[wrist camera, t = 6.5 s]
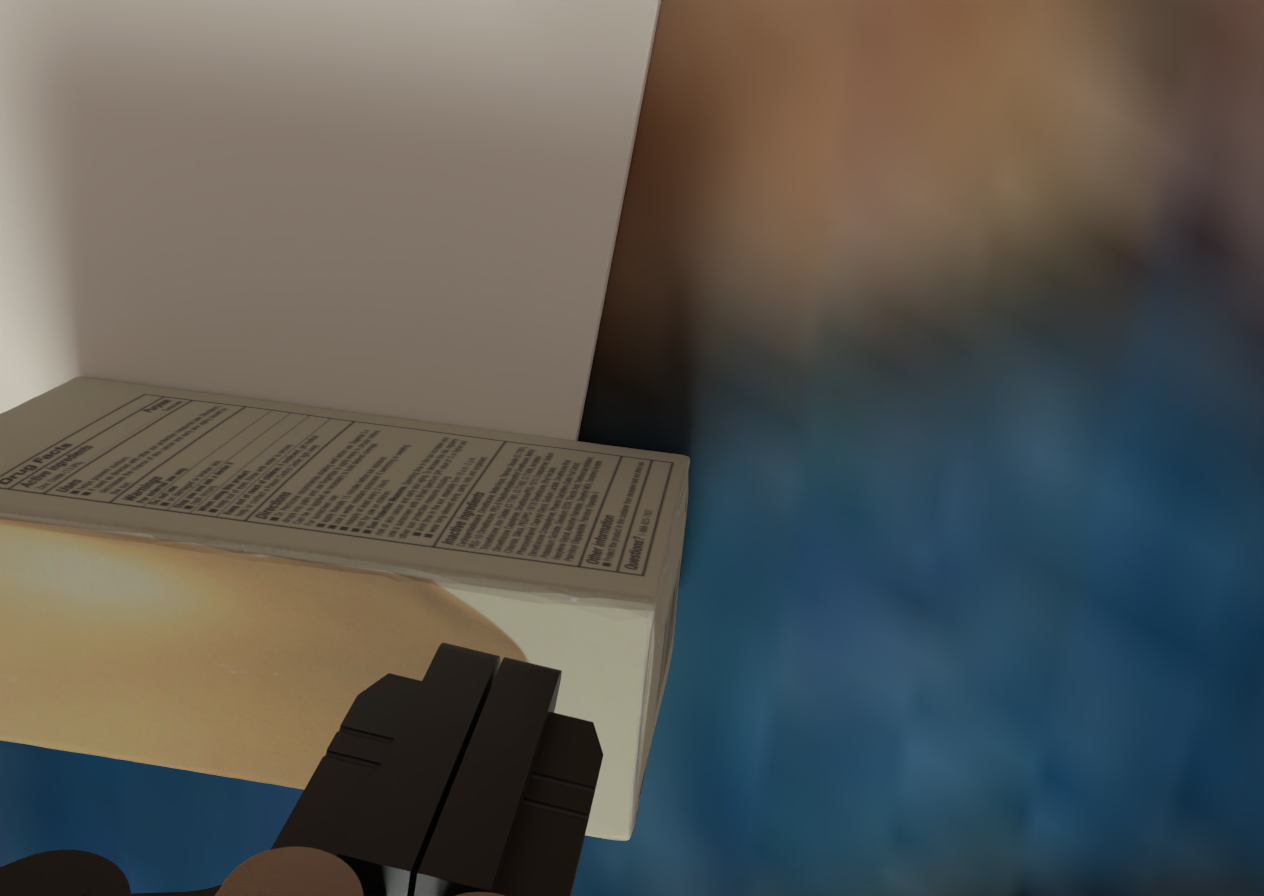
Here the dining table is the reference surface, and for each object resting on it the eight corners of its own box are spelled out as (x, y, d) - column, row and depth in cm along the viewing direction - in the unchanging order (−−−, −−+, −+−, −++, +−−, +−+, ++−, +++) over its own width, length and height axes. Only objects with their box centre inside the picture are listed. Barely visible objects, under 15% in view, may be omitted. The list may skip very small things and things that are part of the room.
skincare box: (677, 653, 24) (100, 563, 25) (702, 449, 22) (85, 365, 24) (628, 867, 18) (-127, 734, 19) (656, 606, 16) (-167, 483, 18)
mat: (-122, 655, 28) (-134, 665, 27) (-237, -363, 19) (-257, -369, 18) (507, 811, 27) (502, 824, 27) (693, -166, 18) (690, -167, 18)
